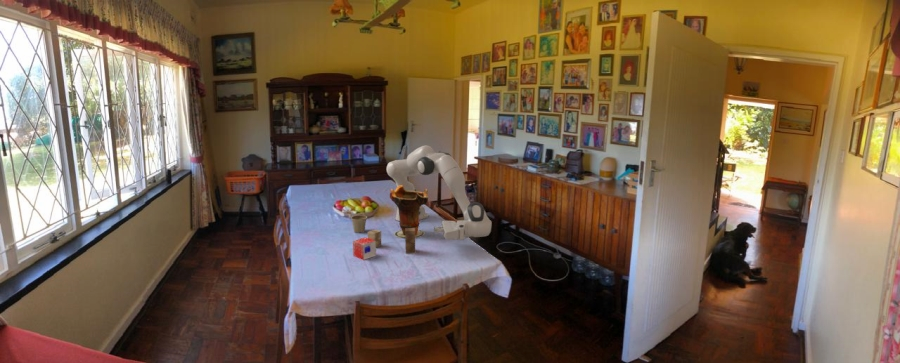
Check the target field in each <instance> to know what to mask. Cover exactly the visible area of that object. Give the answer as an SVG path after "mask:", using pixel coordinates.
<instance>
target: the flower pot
mask: <svg viewBox="0 0 900 363" xmlns="http://www.w3.org/2000/svg"><path fill="white" fill-rule="evenodd" d="M350 219H351V221H352V226H353V227H352V228H353V232H354V233H357V234H359V233H364V232H365V231H366V222H367V219H368V216H367V215H364V214H357V215H356V214H355V215H353V216H351V217H350Z"/></svg>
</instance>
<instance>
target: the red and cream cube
mask: <svg viewBox="0 0 900 363" xmlns="http://www.w3.org/2000/svg"><path fill="white" fill-rule="evenodd" d="M376 248H377V247H376V243H375V240H372V239H369V238H368V237H365V236H364V237H362V238H358V239H355V240H353V241H352V255H353V257H354V258H358V259H360V260H363V261H365V260H367V259H369V258H372V257H375V256H377V253H376V252H377V250H376Z"/></svg>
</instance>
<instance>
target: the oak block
mask: <svg viewBox="0 0 900 363" xmlns="http://www.w3.org/2000/svg"><path fill="white" fill-rule="evenodd" d="M367 238H369V239H372V240H375V243H376V248H378V247H381V246H382V231H381V230H378V229H371V230H370V231H367Z"/></svg>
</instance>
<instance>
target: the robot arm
mask: <svg viewBox="0 0 900 363" xmlns="http://www.w3.org/2000/svg"><path fill="white" fill-rule="evenodd" d="M386 173H387V175H388V176H389V177H390V178H391V179H393V180H394V182H395V184H396V188H397V187H398V186H400V185H403V187H404V189H405V190H407V191H416V190H415V189H416V188H415V185H414V184H413V183H412V182H411V181H408V180H409V179H408V177H412V176H413V177H414V176H418V175H423V176H430V175H434V174H440V175H441V177H442V179H443V181H444V182H445V184H446V185H447V187H448V188H449V190H450V192H451V194H452V196H453V198H454V200H455V201H456V203H457V205H458V207H459V208H460V211H461V213H462V218H463V220H461V219H460V220H457V221H455V220H442V221H441V225H440V226H435V227H433V228H434V229H433V231H434V233H439V234H443V236H444V239H446V240H459V241H464V239H466V238H470V237H472V238H473V237H474V238H480V237H481V238H482V237H487V236H489V235H490V234H491V232H492V228H493V223H492V222H493V221H492V220H490V218H489V217H488V215H487V212H486V209H485V208H484V206H483V204H481V203H480V202H479V201H478V202H477V201H474V202H473V201H472V202H470V200H469V198H468V196H467V193H466V178H465V175H464V172H463V170H462V169H461V167H460V166H459V164H458V163H457V161H456V160H455V158H453V157H452V155H451V154H450V153H449V152H445V151H438V152H435V150H434V149H433V147H432V146H430V145H425V144H424V145H422V146H419V147H417V148H416V149H414V150H412V152H410V153H409V154H408V155H407V157H406V158H405V159H395V160H392V161H390V162H388V163H387V165H386ZM396 207H397V206H396ZM428 217H429V214H428V213H426V209H425V206H423V205H421V206H420V210H419V221H421V220H424V219H425V218H426V219H427V218H428ZM394 218H395V219H394V220H396V221H398V222H400V218H399V209H398V207H397V208H396V215H395V217H394Z"/></svg>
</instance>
